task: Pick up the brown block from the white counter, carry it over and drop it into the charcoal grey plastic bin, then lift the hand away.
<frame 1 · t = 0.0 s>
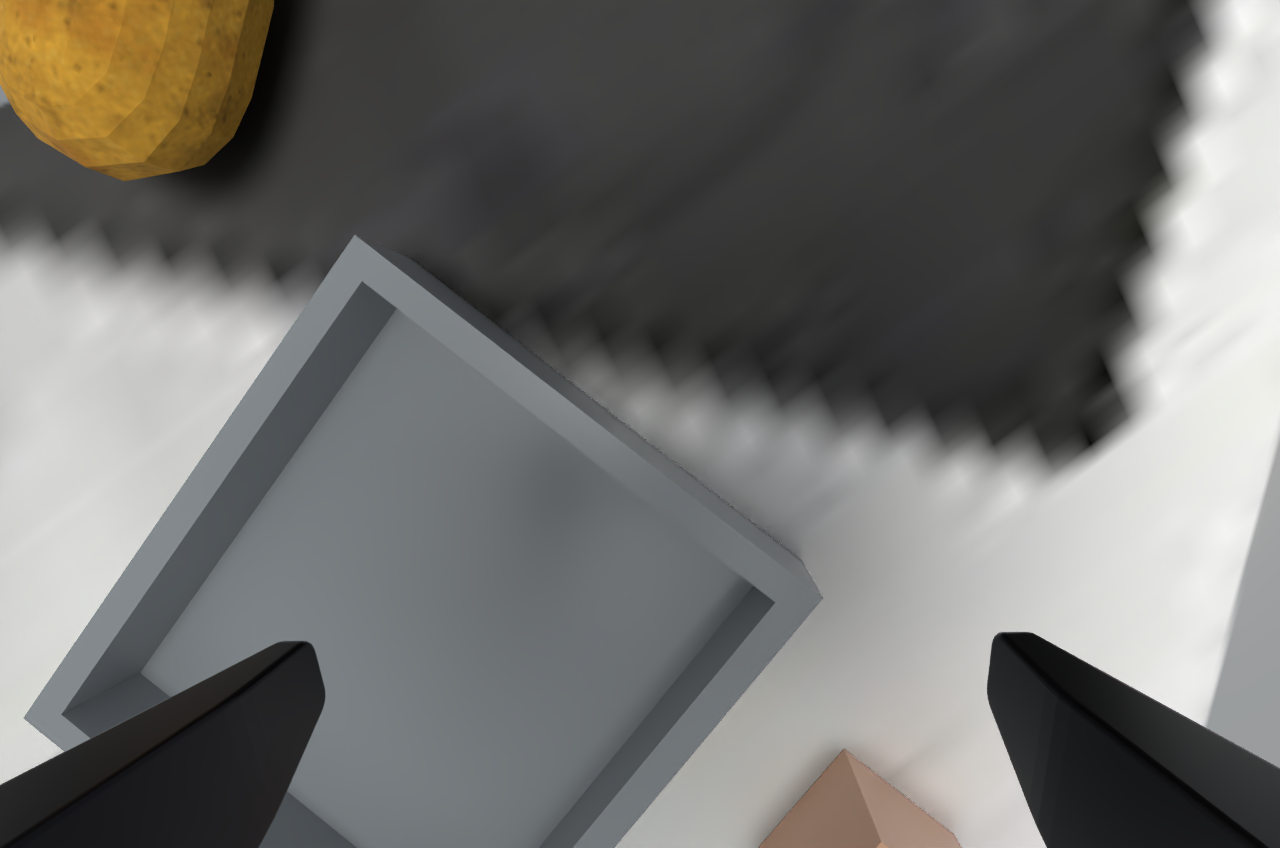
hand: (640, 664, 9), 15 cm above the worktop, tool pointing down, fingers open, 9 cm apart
potato: (227, 13, 25), on the worktop
bin: (445, 617, 25), on the worktop
brown block: (854, 839, 25), on the worktop
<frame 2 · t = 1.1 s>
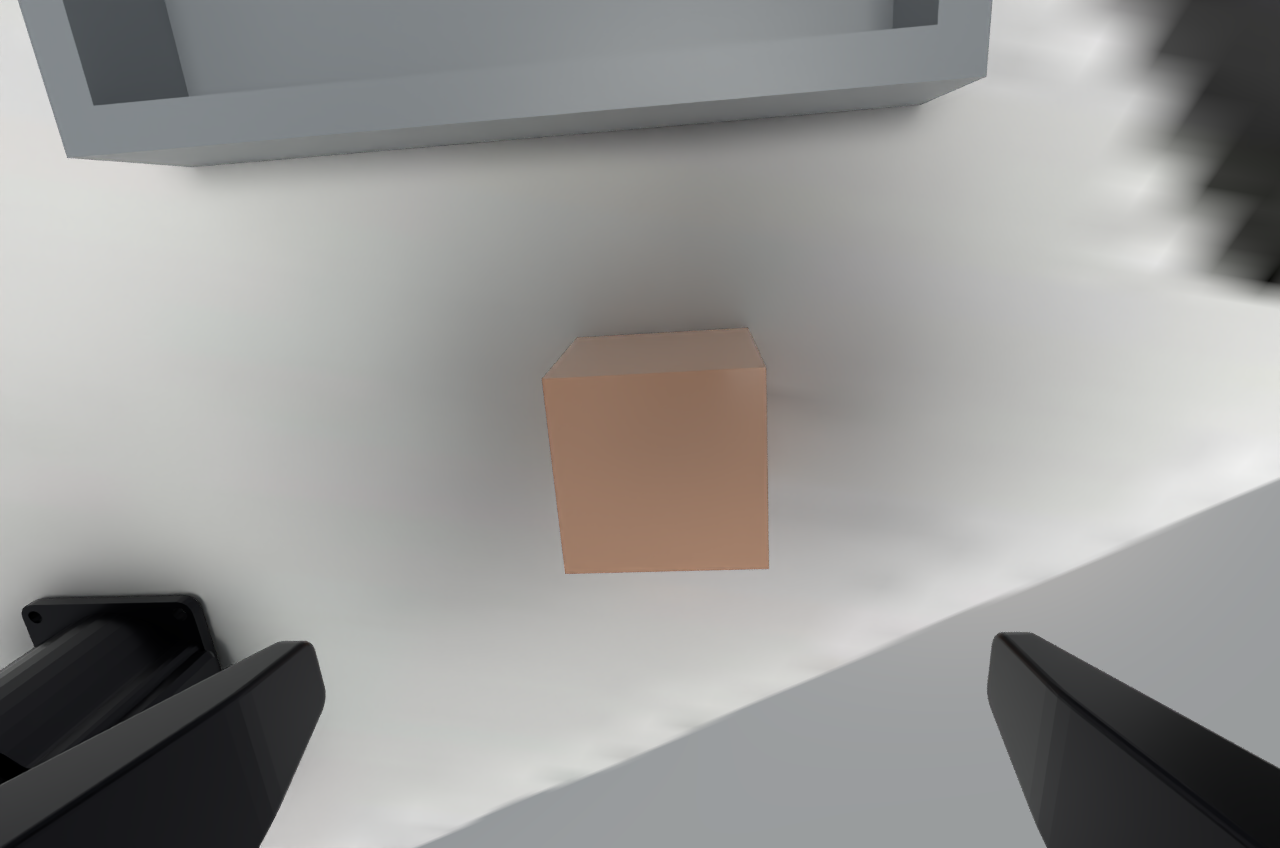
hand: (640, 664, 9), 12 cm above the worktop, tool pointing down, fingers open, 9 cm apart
brown block: (666, 413, 20), on the worktop
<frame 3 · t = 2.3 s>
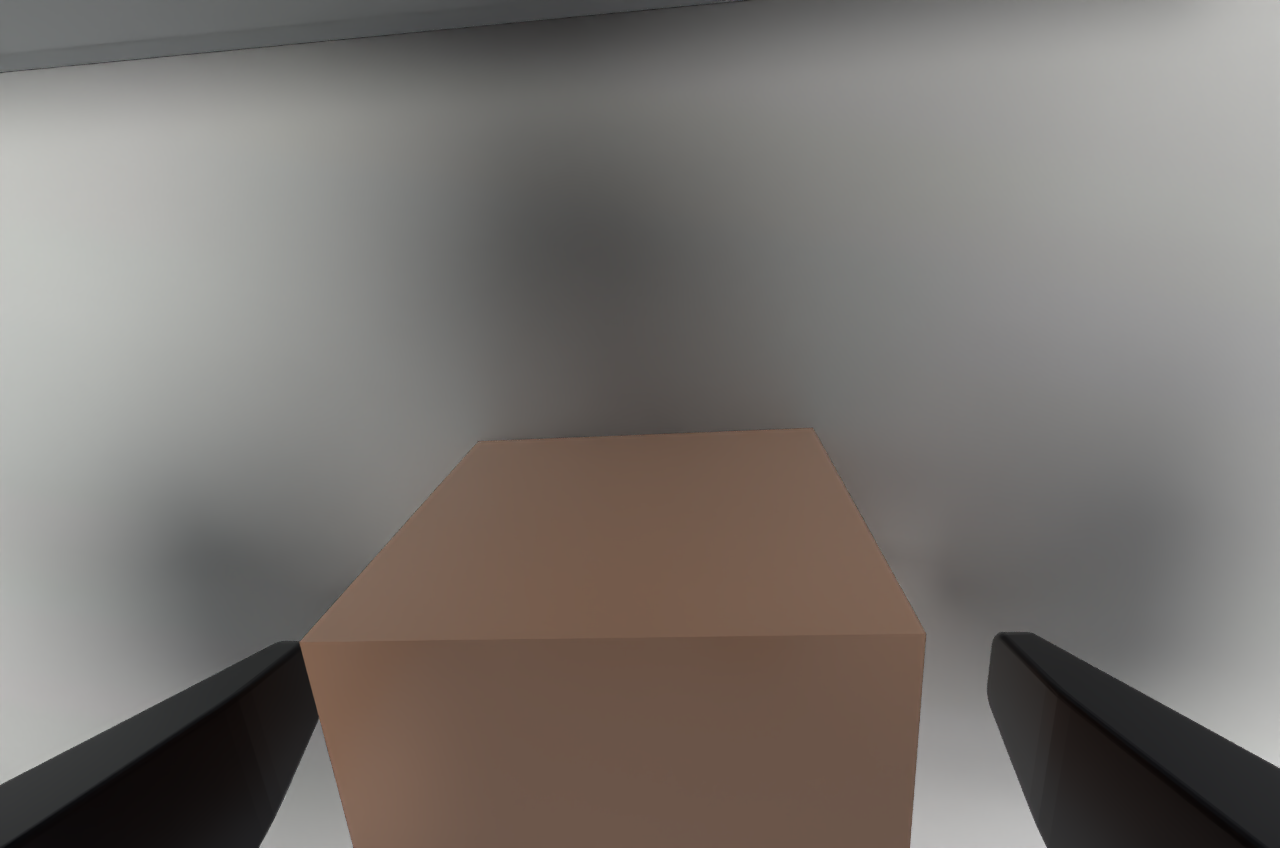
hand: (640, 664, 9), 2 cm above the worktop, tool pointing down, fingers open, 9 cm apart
brown block: (652, 579, 11), on the worktop
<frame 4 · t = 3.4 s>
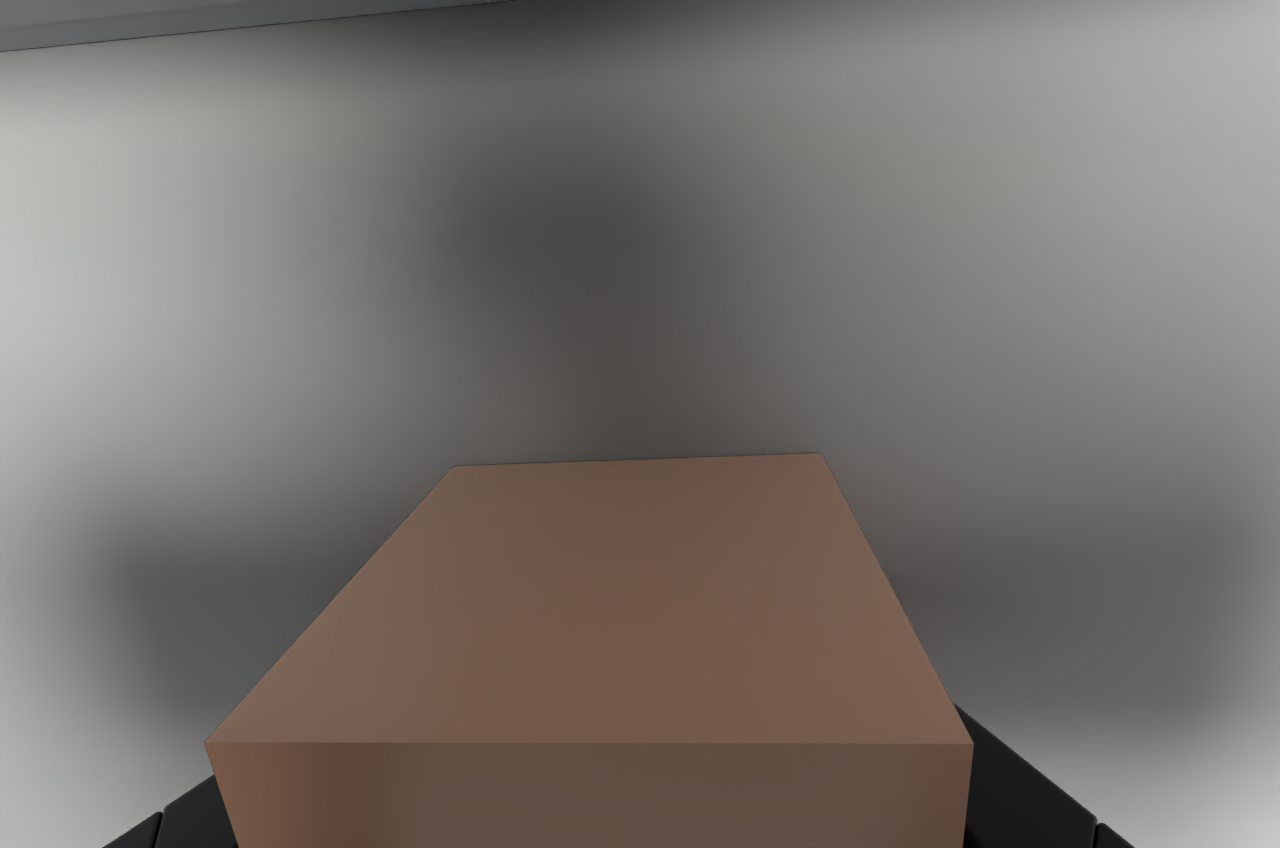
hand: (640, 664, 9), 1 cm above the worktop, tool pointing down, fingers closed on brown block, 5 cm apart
brown block: (644, 618, 10), on the worktop, touching gripper
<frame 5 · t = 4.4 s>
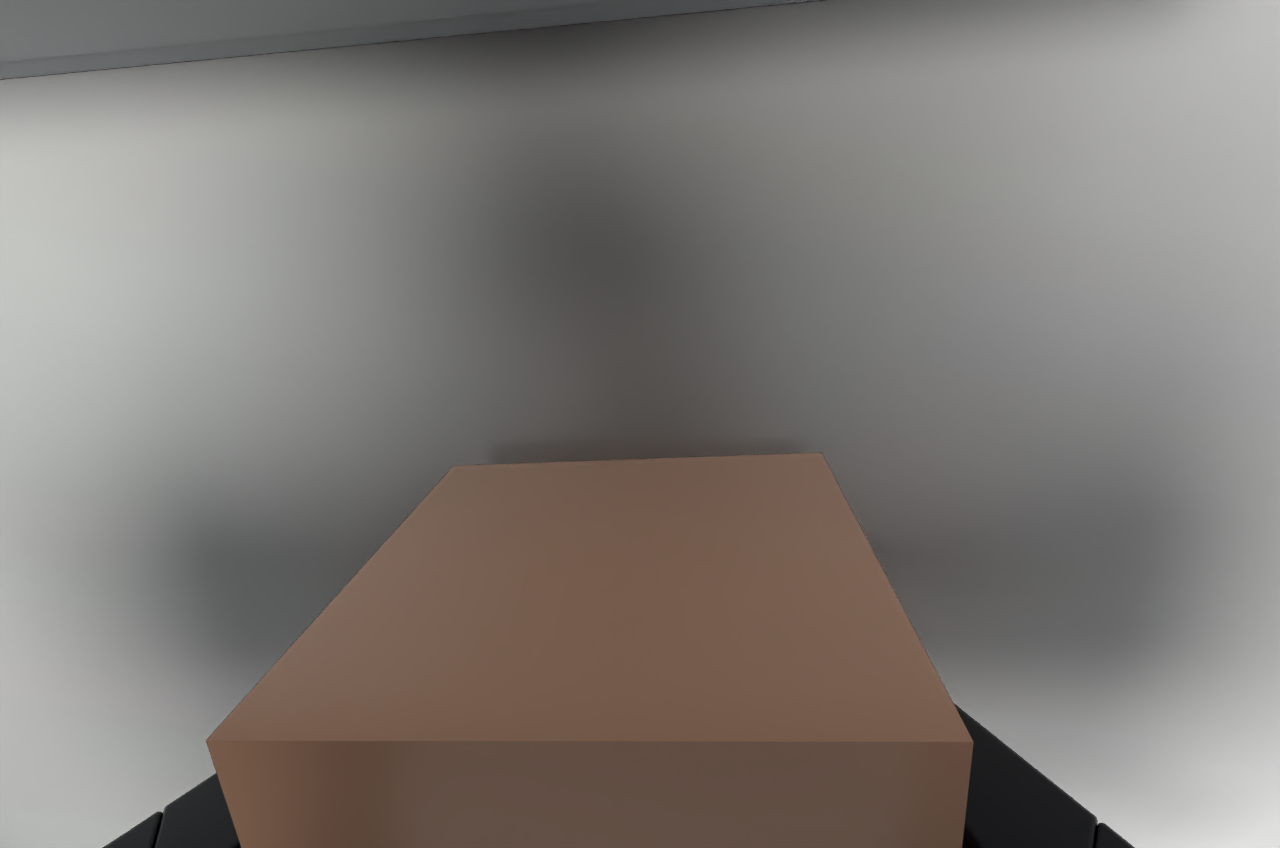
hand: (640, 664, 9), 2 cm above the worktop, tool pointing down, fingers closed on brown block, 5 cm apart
brown block: (644, 617, 10), point 1 cm above the worktop, touching gripper
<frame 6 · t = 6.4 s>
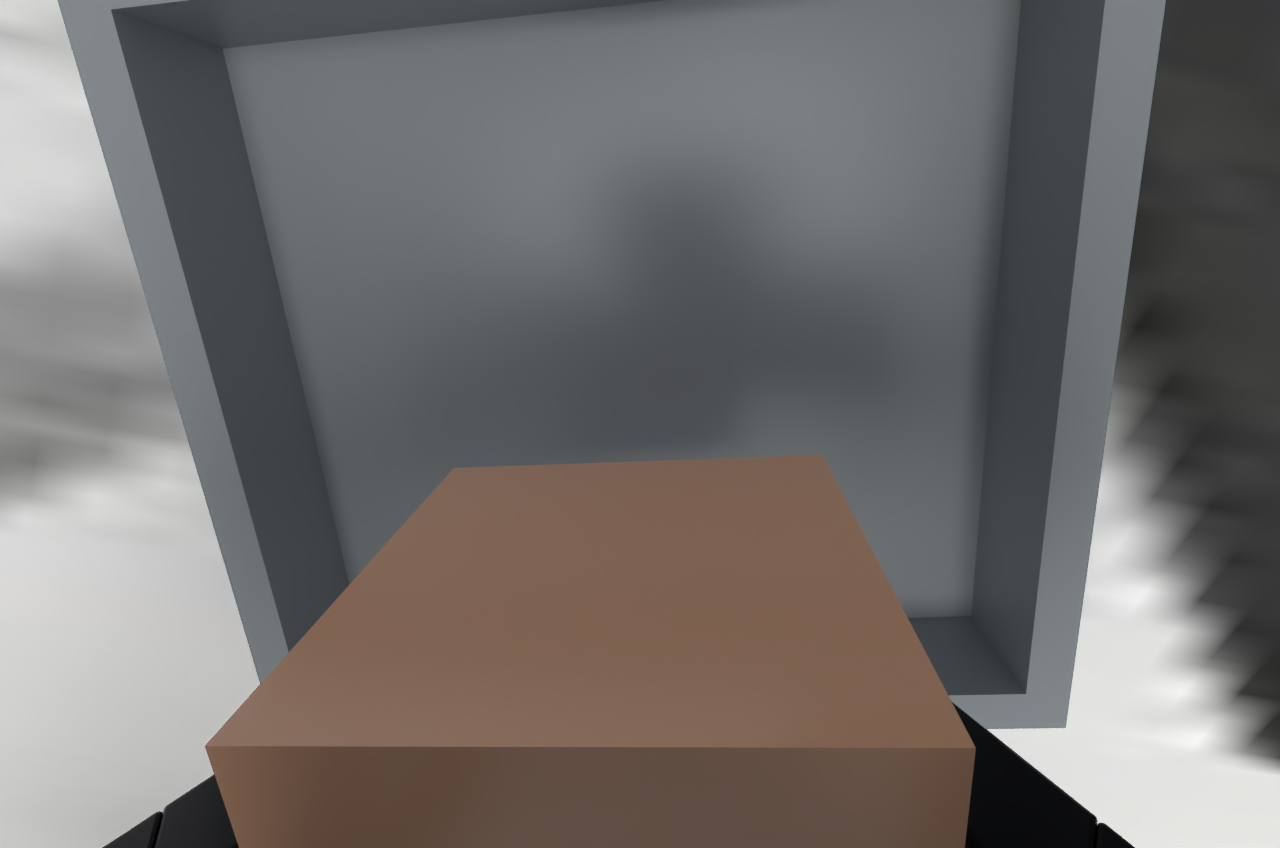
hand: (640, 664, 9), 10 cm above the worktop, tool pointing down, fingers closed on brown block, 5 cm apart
bin: (634, 352, 18), on the worktop
brown block: (645, 620, 10), point 9 cm above the worktop, touching gripper
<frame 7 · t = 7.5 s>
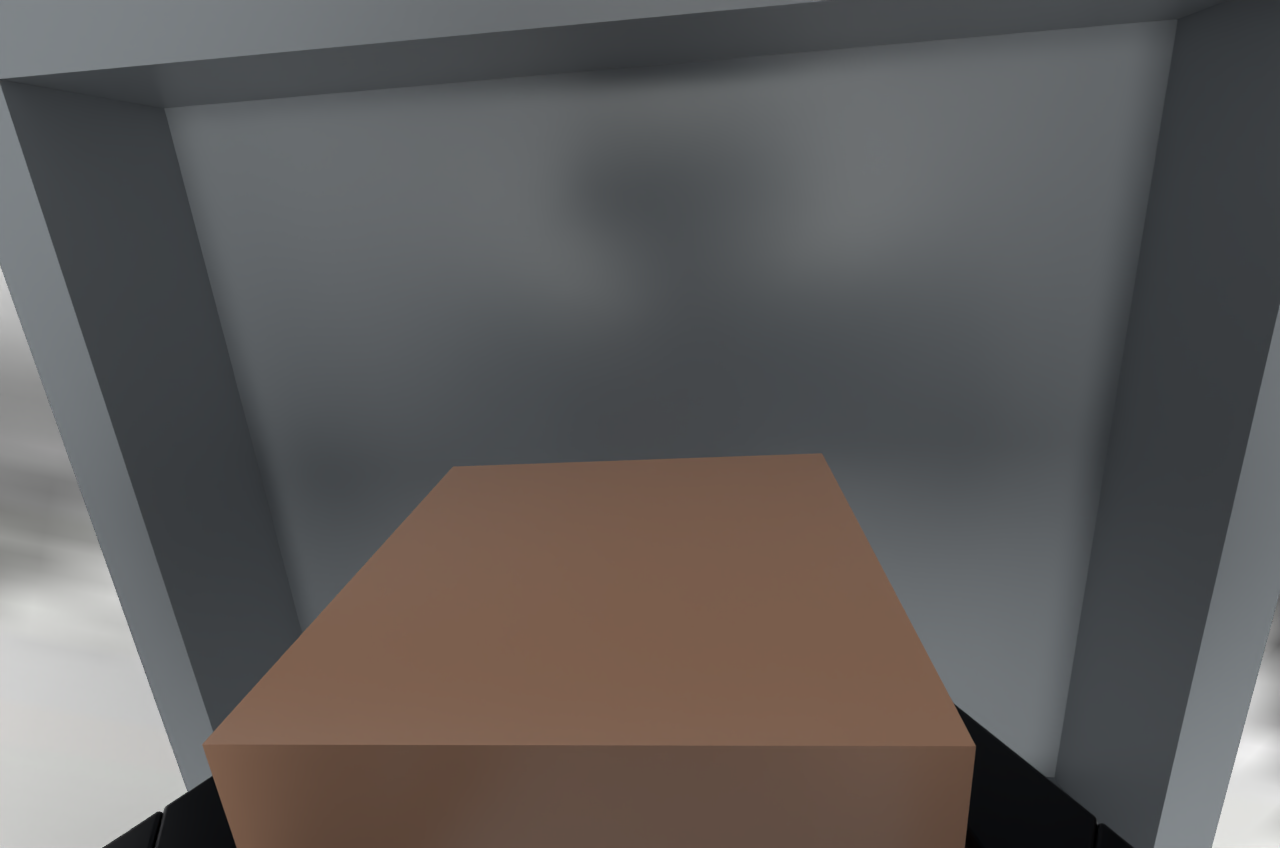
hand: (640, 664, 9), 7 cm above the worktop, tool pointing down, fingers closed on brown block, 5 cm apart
bin: (663, 467, 15), on the worktop
brown block: (644, 619, 10), point 6 cm above the worktop, touching gripper
when the fingers open (4 cm above the worktop, at t = 8.9 s): brown block drops 2 cm, resting on bin.
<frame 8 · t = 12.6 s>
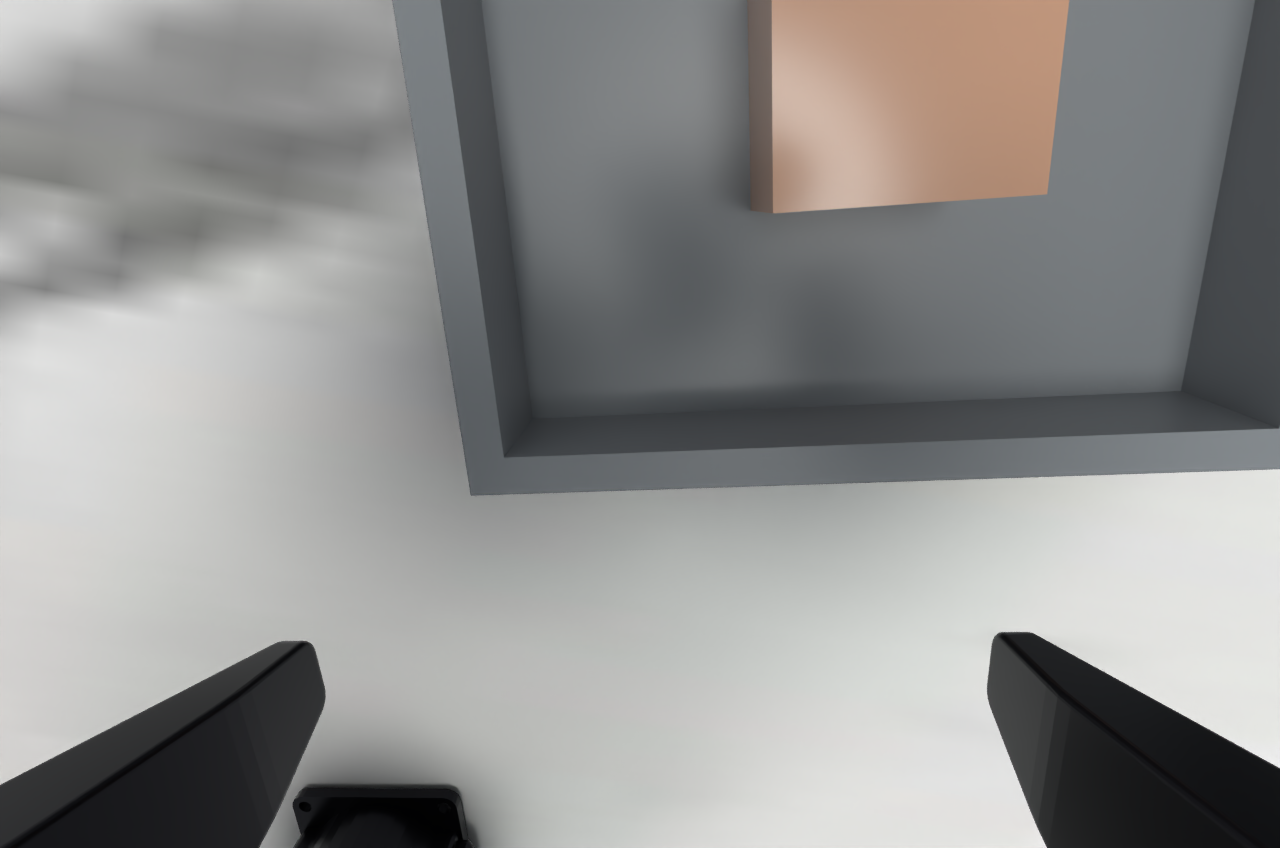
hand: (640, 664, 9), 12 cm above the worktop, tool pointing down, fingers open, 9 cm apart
bin: (844, 100, 17), on the worktop
brown block: (850, 97, 17), point 1 cm above the worktop, touching bin
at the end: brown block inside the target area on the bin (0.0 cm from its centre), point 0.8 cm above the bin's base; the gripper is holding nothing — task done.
